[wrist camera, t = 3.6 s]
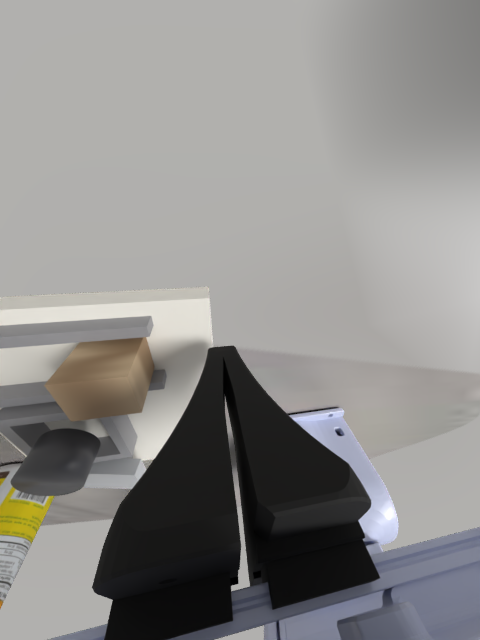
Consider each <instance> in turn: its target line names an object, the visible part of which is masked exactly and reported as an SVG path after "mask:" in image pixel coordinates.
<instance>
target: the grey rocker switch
mask: <svg viewBox="0 0 480 640" xmlns="http://www.w3.org/2000/svg"><path fill="white" fill-rule="evenodd" d="M145 471H146V468H145V466H144V464H143V462H142V460H141V459H131V458H120V459H114V460H107V461H101V462H94V463H93V465H92V468H91V470H90V473H89V475H88V477H87V480H86V482H85V485H84V486H83V487H84V488H115V489H132V488H133V487H134V486H135V484H136V483H137V482H138V480H139V479H140V478H141V477H142V475H143V474H144V473H145Z"/></svg>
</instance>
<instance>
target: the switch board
mask: <svg viewBox="0 0 480 640" xmlns="http://www.w3.org/2000/svg"><path fill="white" fill-rule="evenodd" d="M210 312H211V311H210V298H209V287H196V288H175V289H154V290H134V291H114V292H95V293H94V292H92V293H74V294H73V293H72V294H51V295H31V296H13V297H0V434H1V435H2V436H3V437H4V438H5V439H6V440H7V441H9V442H10V443H11V444H12V445H13V446H14V447H15V448H16V449H18V450H19V451H20V452H21V453H22V454H23V455H24V456H25V457H27V455H28V454H29V452H30V451H31V449H32V448H33V446H34V445H35V443H36V442H37V440H38V439H39V437H40V436H41V435H42V434H44V433H46V432H48V431H51V430H54V429H62V428H72V429H80V430H84V431H87V432H89V433H92V434H94V435H95V436H96V437H97V438H98V439H99V440H100V443H101V445H100V448H99V450H98V453H97V455H96V458H95V460H94V462H101V461H107V460H114V459H120V458H131V459H141V460H142V461H144V460H151V459H155V457H156V456H157V454H158V453H159V451H160V450H161V449H162V447H163V446H164V444H165V443H166V441H167V440H168V438H169V437H170V435H171V433H172V432H173V430H174V429H175V427H176V425H177V424H178V422H179V420H180V418H181V417H182V415H183V413H184V411H185V409H186V408H187V406H188V404H189V402H190V400H191V398H192V396H193V393H194V391H195V389H196V386H197V384H198V382H199V379H200V377H201V374H202V371H203V368H204V365H205V362H206V358H207V352H208V349H209V348H213V338H212V324H211V313H210ZM141 337H146V338H147V342H148V345H149V349H150V352H151V355H152V359H153V362H154V366H155V367H154V371H153V375H152V378H151V382H150V385H149V389H148V392H147V396H146V400H145V403H144V407H143V410H142V413H135V414H127V415H119V416H111V417H103V418H96V419H88V420H80V421H72V422H71V421H70V420H69V418H68V417H67V416H66V414H65V413H64V412H63V410H62V409H61V407H60V406H59V405H58V403H57V402H56V401H55V399H54V398H53V397H52V395H51V394H50V393H49V391H48V390H47V389H46V387H45V386H44V385H45V384H46V382H47V381H48V380H49V379H50V378H51V376H52V375H53V374H54V373H55V371H56V370H57V369H58V368H59V367H60V365H61V364H62V363H63V362H64V361H65V359H66V358H67V357H68V356H69V355H70V353H71V352H72V351H73V350H74V349H75V347H76V346H77V345H78V344H79V343H80V342H91V341H103V340H116V339H128V338H141Z"/></svg>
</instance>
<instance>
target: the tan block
mask: <svg viewBox="0 0 480 640" xmlns="http://www.w3.org/2000/svg"><path fill="white" fill-rule="evenodd" d="M154 367H155V366H154V362H153V359H152V355H151V352H150V349H149V345H148V342H147V338H146V337H141V338H128V339H116V340H103V341H91V342H80V343H79V344H78V345H77V346H76V347H75V349H74V350H73V351H72V352H71V353H70V355H69V356H68V357H67V358H66V359H65V361H64V362H63V363H62V364H61V365H60V367H59V368H58V369H57V370H56V371H55V373H54V374H53V375H52V376H51V378H50V379H49V380H48V381H47V382H46V384H45V385H44V386H45V387H46V389H47V390H48V391H49V393H50V394H51V395H52V397H53V398H54V399H55V401H56V402H57V403H58V405H59V406H60V407H61V409H62V410H63V412H64V413H65V414H66V416H67V417H68V418H69V420H70V421H71V422H72V421H80V420H88V419H96V418H103V417H111V416H119V415H127V414H135V413H142V410H143V407H144V403H145V400H146V396H147V392H148V389H149V385H150V382H151V378H152V375H153V371H154Z"/></svg>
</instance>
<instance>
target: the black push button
mask: <svg viewBox="0 0 480 640" xmlns="http://www.w3.org/2000/svg"><path fill="white" fill-rule="evenodd" d="M100 445H101V443H100V440H99V439H98V438H97V437H96V436H95V435H94V434H92V433H89V432H87V431H84V430H80V429H72V428H62V429H54V430H51V431H48V432H46V433H44V434H42V435H41V436H40V437H39V439H38V440H37V442H36V443H35V445H34V446H33V448H32V449H31V451H30V452H29V454H28V455H27V457H26V458H25V460H24V461H23V463H22V464H21V466H20V467H19V469H18V470H17V472H16V473H15V475H14V476H13V478H12V479H11V485H12V486H13V487H14V488H15V489H16V490H18V491H20V492H23V493H26V494H31V495H37V496H59V495H65V494H69V493H73V492H75V491H78V490H80V489H81V488H82V487H83V486H84V485H85V482H86V480H87V477H88V475H89V473H90V470H91V468H92V465H93V463H94V460H95V458H96V455H97V453H98V450H99V448H100Z"/></svg>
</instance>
